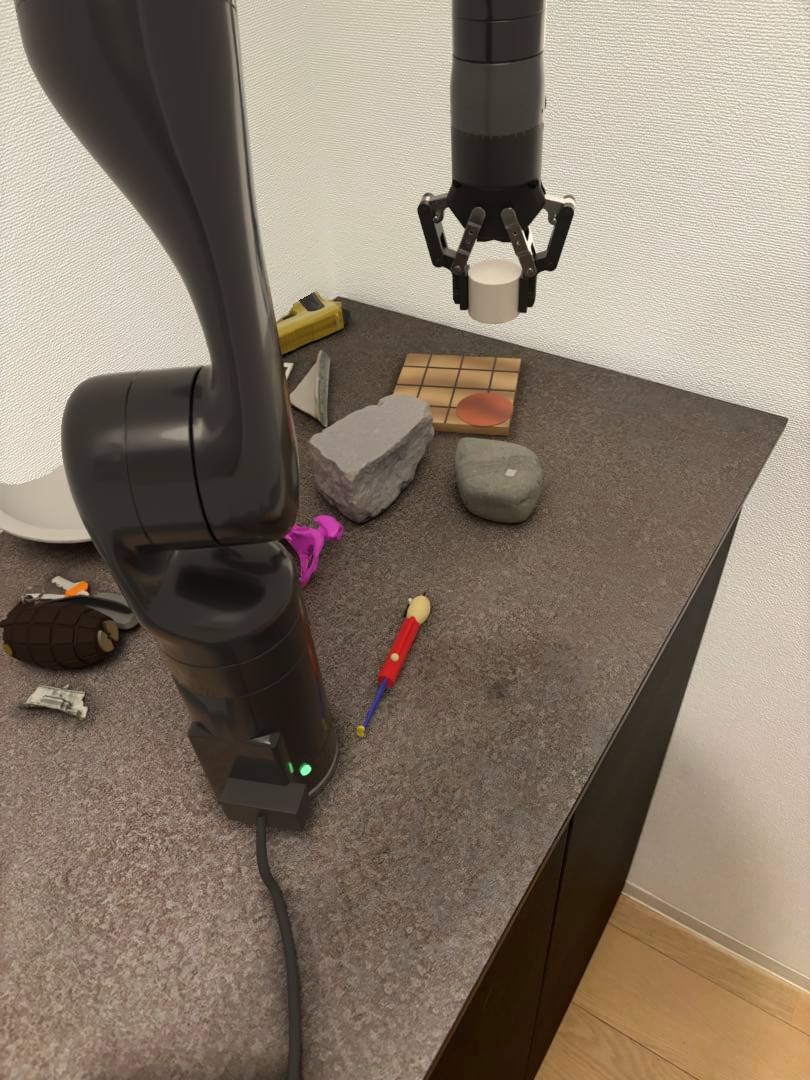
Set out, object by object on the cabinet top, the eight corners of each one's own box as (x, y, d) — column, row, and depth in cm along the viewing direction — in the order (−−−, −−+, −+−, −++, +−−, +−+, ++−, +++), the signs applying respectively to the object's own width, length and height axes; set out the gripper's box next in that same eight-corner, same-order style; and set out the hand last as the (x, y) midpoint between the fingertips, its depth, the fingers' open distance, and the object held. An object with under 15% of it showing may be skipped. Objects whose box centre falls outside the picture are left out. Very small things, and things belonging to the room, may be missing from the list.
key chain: (122, 623, 68) (127, 636, 69) (151, 598, 71) (156, 611, 71) (19, 594, 73) (25, 606, 74) (50, 571, 76) (55, 583, 77)
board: (509, 437, 87) (510, 427, 86) (384, 428, 89) (383, 419, 89) (522, 367, 97) (522, 358, 96) (408, 361, 99) (407, 352, 98)
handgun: (309, 295, 114) (360, 322, 107) (193, 341, 105) (240, 374, 98) (307, 279, 112) (359, 305, 105) (189, 324, 104) (236, 356, 97)
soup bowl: (204, 398, 94) (194, 353, 89) (240, 552, 80) (231, 509, 75) (-12, 437, 89) (-35, 391, 84) (-14, 608, 75) (-42, 566, 69)
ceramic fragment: (327, 429, 90) (322, 400, 87) (282, 432, 90) (276, 403, 87) (334, 365, 100) (330, 338, 98) (293, 368, 100) (288, 340, 98)
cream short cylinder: (517, 325, 74) (519, 285, 71) (464, 323, 75) (463, 283, 72) (522, 299, 77) (524, 259, 74) (471, 297, 78) (471, 258, 75)
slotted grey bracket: (6, 701, 63) (23, 667, 65) (21, 713, 65) (37, 680, 67) (74, 710, 62) (89, 675, 63) (87, 722, 64) (101, 688, 65)
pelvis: (267, 525, 79) (253, 474, 74) (350, 550, 76) (342, 498, 71) (195, 610, 72) (176, 558, 67) (285, 642, 68) (271, 590, 64)
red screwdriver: (347, 736, 61) (412, 598, 71) (373, 745, 60) (435, 605, 70) (347, 718, 59) (414, 579, 69) (374, 728, 58) (438, 586, 69)
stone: (549, 462, 83) (548, 418, 74) (538, 542, 80) (537, 508, 71) (464, 455, 85) (453, 411, 76) (451, 533, 82) (439, 498, 73)
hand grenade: (119, 684, 66) (4, 679, 68) (151, 615, 70) (43, 613, 73) (91, 645, 62) (-30, 641, 64) (127, 575, 67) (13, 573, 69)
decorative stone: (301, 518, 80) (391, 537, 76) (287, 464, 75) (383, 481, 72) (360, 435, 89) (443, 448, 86) (351, 383, 85) (438, 394, 81)
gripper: (400, 131, 62) (413, 324, 74) (586, 130, 60) (568, 331, 72) (418, 100, 67) (427, 286, 79) (590, 98, 65) (572, 291, 77)
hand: (494, 306), depth 76 cm, fingers closed on cream short cylinder, 5 cm apart
